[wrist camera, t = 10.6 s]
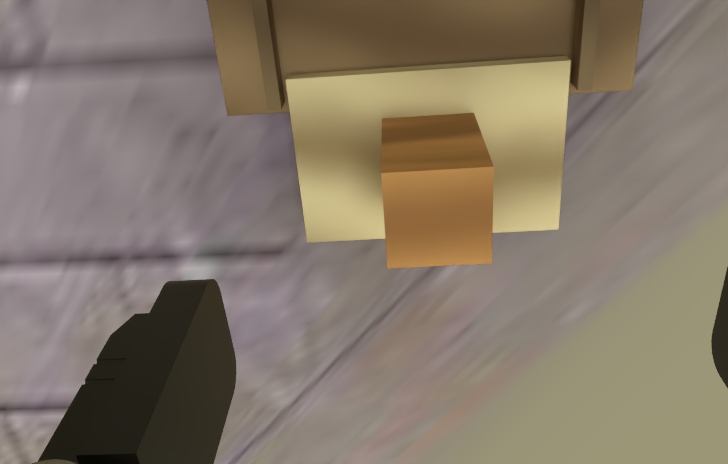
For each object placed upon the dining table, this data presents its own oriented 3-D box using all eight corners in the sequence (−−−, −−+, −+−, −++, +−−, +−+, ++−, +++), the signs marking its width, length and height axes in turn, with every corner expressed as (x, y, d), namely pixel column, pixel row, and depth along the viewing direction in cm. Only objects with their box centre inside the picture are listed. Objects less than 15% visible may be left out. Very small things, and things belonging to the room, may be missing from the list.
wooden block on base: (287, 74, 29) (262, 126, 23) (566, 55, 28) (615, 104, 22) (308, 234, 33) (291, 315, 27) (554, 221, 32) (593, 301, 26)
